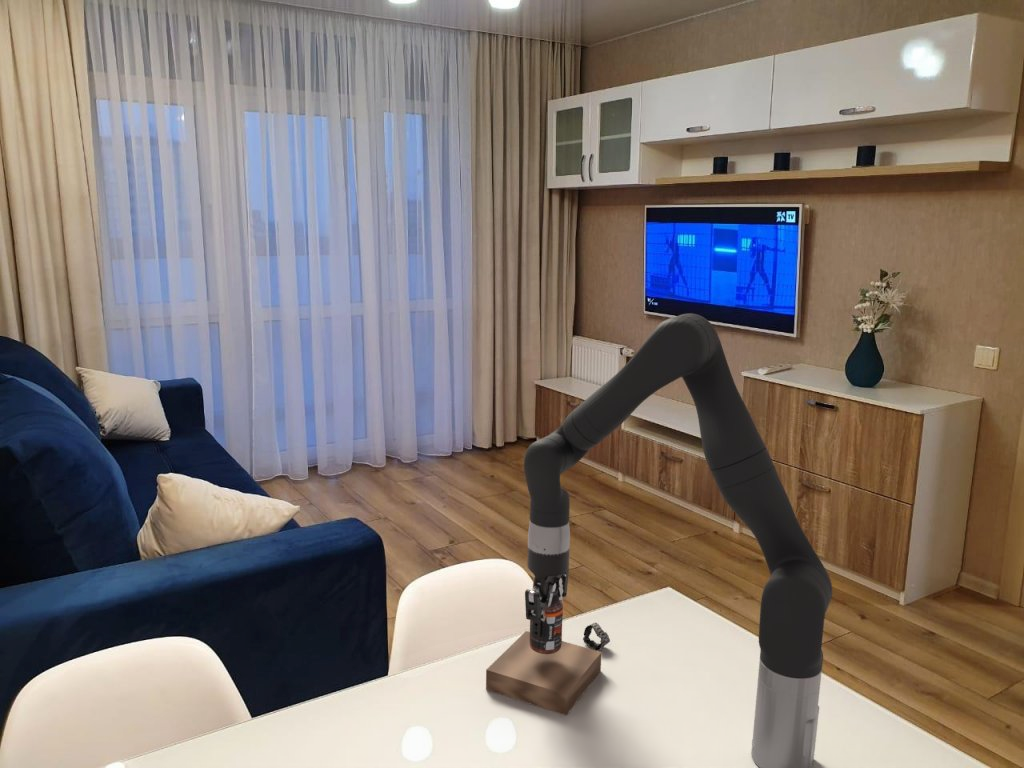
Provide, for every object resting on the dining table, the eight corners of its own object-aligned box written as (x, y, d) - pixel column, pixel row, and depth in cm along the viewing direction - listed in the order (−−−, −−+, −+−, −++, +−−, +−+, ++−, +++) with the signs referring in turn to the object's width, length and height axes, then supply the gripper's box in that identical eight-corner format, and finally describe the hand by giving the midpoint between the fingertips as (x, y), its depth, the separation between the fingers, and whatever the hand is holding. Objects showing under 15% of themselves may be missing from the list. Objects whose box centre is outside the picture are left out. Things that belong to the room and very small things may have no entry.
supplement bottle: (559, 657, 148) (560, 599, 146) (526, 653, 149) (527, 596, 147) (563, 641, 154) (565, 585, 151) (532, 637, 155) (533, 581, 152)
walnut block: (600, 671, 156) (601, 651, 155) (566, 715, 142) (567, 694, 141) (525, 649, 163) (526, 630, 162) (485, 689, 149) (486, 669, 149)
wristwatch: (589, 655, 164) (604, 645, 161) (578, 632, 166) (592, 621, 163) (600, 652, 166) (614, 641, 163) (588, 629, 168) (602, 618, 166)
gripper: (550, 563, 139) (548, 653, 143) (583, 534, 152) (580, 618, 155) (511, 554, 143) (509, 642, 146) (547, 527, 155) (544, 608, 159)
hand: (546, 629), depth 151 cm, fingers closed on supplement bottle, 6 cm apart
